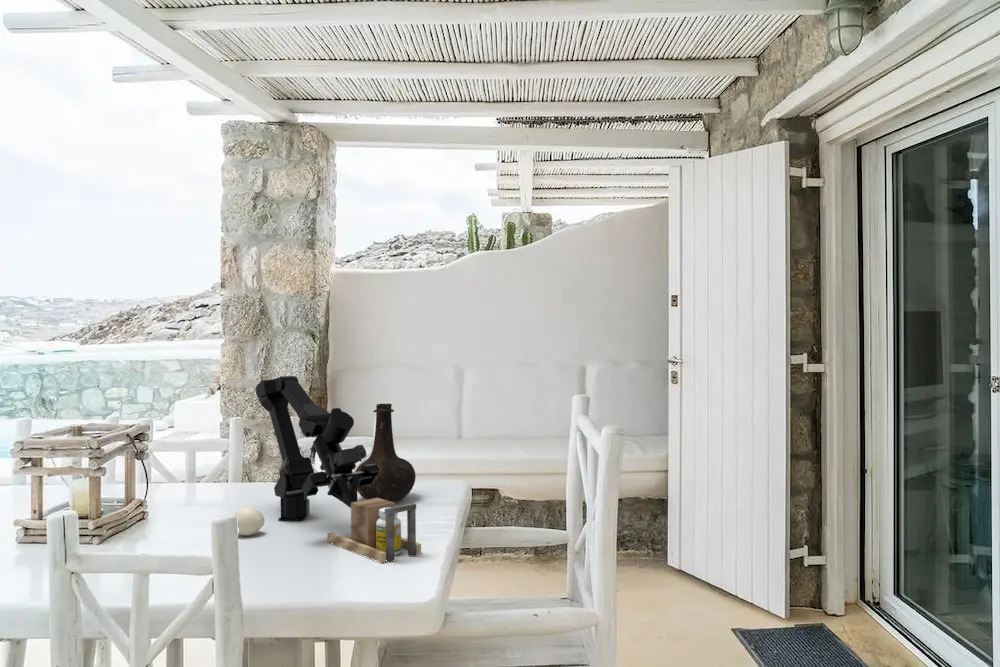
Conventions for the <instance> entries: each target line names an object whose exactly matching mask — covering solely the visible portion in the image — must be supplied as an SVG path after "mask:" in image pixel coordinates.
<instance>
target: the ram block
mask: <svg viewBox="0 0 1000 667" xmlns="http://www.w3.org/2000/svg"><path fill="white" fill-rule="evenodd" d="M390 507H391V508H392V507H396V504H395V502H391V501H387V500H384V499H380V498H373V499H367V500H366V499H363V500H358V501H357V502H351V508H350V539H351V540H353V541H356V542H359V543H362V544H364V545H367V546H370V547H372V548H375V549H376V522H377V520H378V519H379V518H380V516H379V510H380V509H382V508H390Z"/></svg>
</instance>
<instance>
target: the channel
mask: <svg viewBox="0 0 1000 667" xmlns="http://www.w3.org/2000/svg"><path fill="white" fill-rule="evenodd" d="M416 510H417V503H407V504H402V505H399V506H398V505H397V506H395V507H392V508H387V509H385V514H386V552H383V551H380V550H378V549H375V548H372V547H370V546H367V545H364V544H362V543H359V542H356V541H353V540H351V538H348V537H346V536H345V537H344V536H343V535H340V534H337V533H334V532H328V533H327V534H326V535H327V536H326V537H327V538H326V540H327V543H328V542H330V543H329V544H331V543H333V544H335V545H334V546H336V545H338V546H341V547H343V548H342V549H344V548H345V549H344V550H346V549H348V550H347V551H349V550H350V551H349V552H351V551H353V552H352V553H354V552H356V553H358V554H357V555H359V554H361V555H364V556H367V557H369V558H372V559H374V560H377V561H379V562H384V561H386V560H387V561H393V560H395V559H396V558H395V556H396V555H395V553H394V513H402V512H403V513H404V512H406V514H407V515H406V518H407V519H406V520H407V521H406V522H407V523H406V524H407V528H406V529H407V532H406V534H407V535H406V536H407V538H404V537H402V536H401V548H402V549H401V550H404V549H405V551H407V556H408V555H415V556H416V555H417V554H416V553H419V554H421V553H422V543H420V542H417V541H416V540H417V538H416V537H417V535H416V532H417V527H416V525H417V523H416V522H417V521H416V520H417V519H416V517H417V516H416V512H417V511H416ZM333 544H332V545H333ZM338 546H337V547H338ZM341 547H340V548H341ZM356 553H355V554H356ZM361 555H360V556H361ZM364 556H363V557H364ZM369 558H368V559H369ZM372 559H371V560H372ZM374 560H373V561H374ZM377 561H376V562H377ZM387 561H386V562H387ZM379 562H378V563H379ZM393 562H394V561H393ZM384 563H385V562H384Z"/></svg>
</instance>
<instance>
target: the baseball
mask: <svg viewBox="0 0 1000 667" xmlns="http://www.w3.org/2000/svg"><path fill="white" fill-rule="evenodd" d="M234 515H235V516H237V517H238V528H239V534H238V535H239V536H244V537H245V536H246V537H249V536H252V535H254V534H257V533H258V532H259V531H260V529H262V528H263V527H264V525H265V522H266V521H265V516H264V514H263V512H261V511H260V510H259V509H257V508H256V507H254V506H246V507H242V508H239V509H238V510H237V511H235V514H234Z"/></svg>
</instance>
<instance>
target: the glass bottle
mask: <svg viewBox="0 0 1000 667" xmlns="http://www.w3.org/2000/svg"><path fill="white" fill-rule="evenodd" d="M392 406H393V404H392V403H378V404H376V405H375V408H376V409H374V410H373V411H372V412H374V413H376V416H375V431H374V439H373V445H372V446H373V447H372V450H371V453H370V456H369V457H367V459H366V460H364V461H362V463H360V464H359V465H358V466H357V468H355V471H354V472H359V471H360V469H361V468H362V466H363V465H369V464H377V465H378V466H379V468H380V470H381V473H380V474H379V476H378V477H377V479H376V480H375V482H374V483H373V484H372V485H370V486H364V487H361V486H359V485H358V486H357V494H359V495H360V496H361V497H362V498H363V500H367V499H373V498H380V499H384V500H387V501H391V502H394V503H395V502H398V501H401V500H403V499H404V498H405V497H407V496H408V495H409V494H410V492H411V491H412V490H413V487H414V486H415V482H416V470H415V468H414V466H413V465H412V464H411V463H410V461H408V460H407V459H404V458H402V457H399V456H398V455H397V453H396V449H395V445H394V436H393V421H392V419H393V418H392V413H393V412H395V410H394V409H393V408H392Z"/></svg>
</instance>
